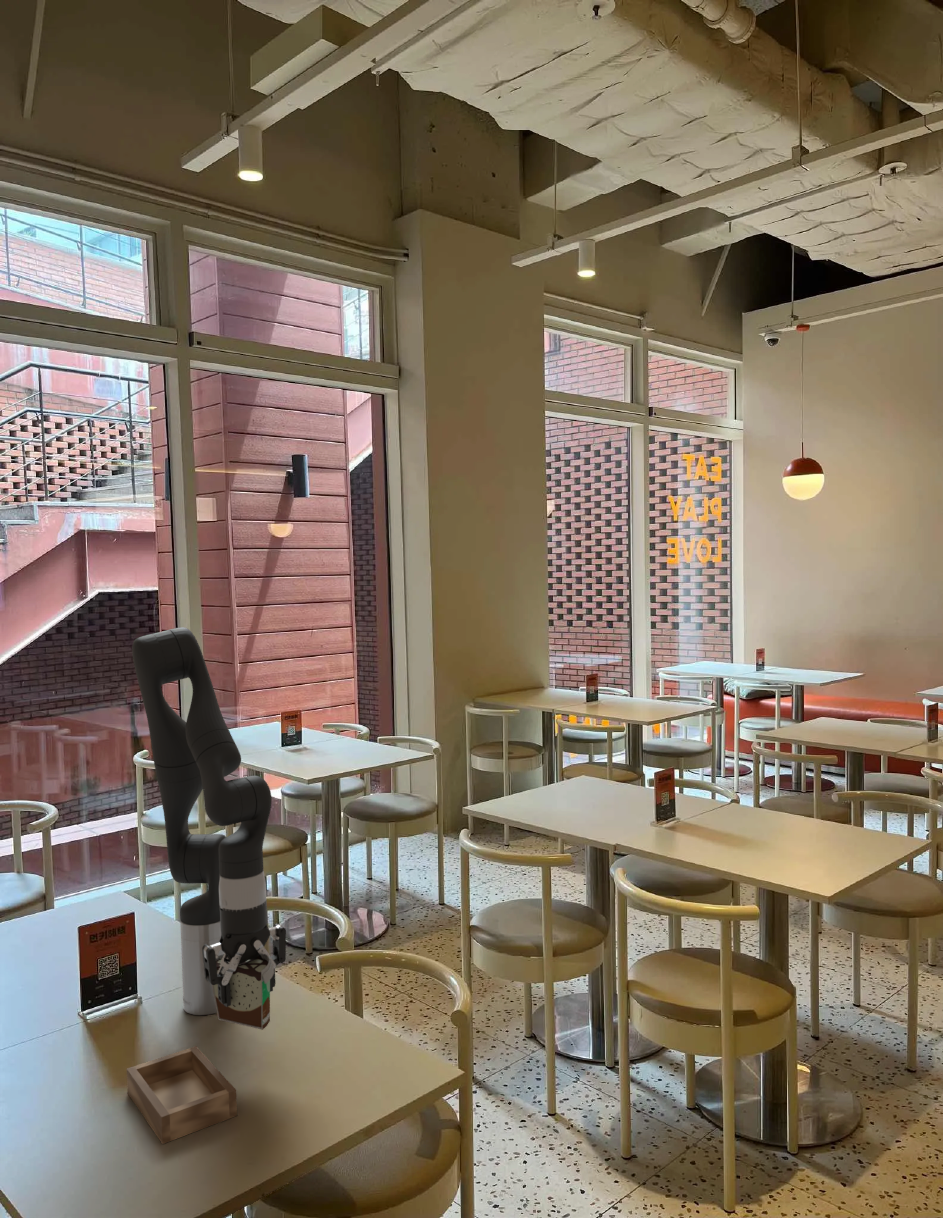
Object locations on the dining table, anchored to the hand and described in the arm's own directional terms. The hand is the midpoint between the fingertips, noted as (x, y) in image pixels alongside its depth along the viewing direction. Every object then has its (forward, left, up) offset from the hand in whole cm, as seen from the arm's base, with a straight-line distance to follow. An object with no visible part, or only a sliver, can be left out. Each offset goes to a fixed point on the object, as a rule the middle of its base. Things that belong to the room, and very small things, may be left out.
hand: (247, 997), depth 153 cm
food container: (-1, 0, -4) cm, 4 cm away
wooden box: (+12, +1, -13) cm, 18 cm away
